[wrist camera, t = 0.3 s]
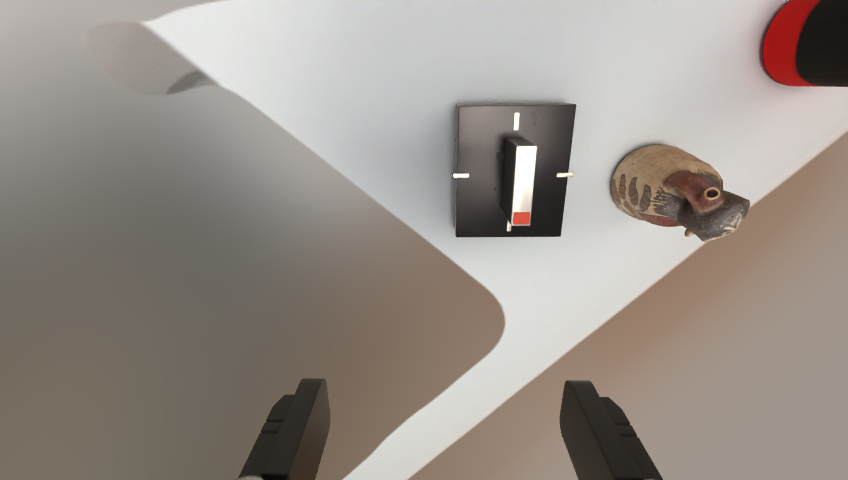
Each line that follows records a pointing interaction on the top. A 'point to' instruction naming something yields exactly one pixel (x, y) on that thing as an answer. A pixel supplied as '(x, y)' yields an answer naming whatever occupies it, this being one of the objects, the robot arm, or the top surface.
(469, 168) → the tap plate
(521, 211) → the grey rectangular block
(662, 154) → the figurine
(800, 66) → the soda can
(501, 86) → the top surface
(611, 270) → the top surface
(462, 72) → the top surface
